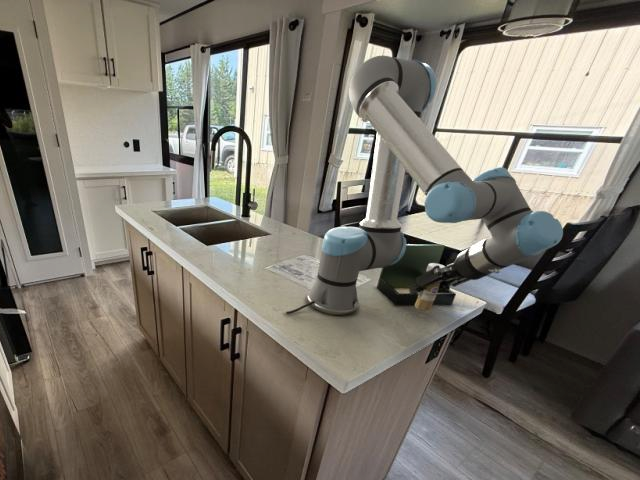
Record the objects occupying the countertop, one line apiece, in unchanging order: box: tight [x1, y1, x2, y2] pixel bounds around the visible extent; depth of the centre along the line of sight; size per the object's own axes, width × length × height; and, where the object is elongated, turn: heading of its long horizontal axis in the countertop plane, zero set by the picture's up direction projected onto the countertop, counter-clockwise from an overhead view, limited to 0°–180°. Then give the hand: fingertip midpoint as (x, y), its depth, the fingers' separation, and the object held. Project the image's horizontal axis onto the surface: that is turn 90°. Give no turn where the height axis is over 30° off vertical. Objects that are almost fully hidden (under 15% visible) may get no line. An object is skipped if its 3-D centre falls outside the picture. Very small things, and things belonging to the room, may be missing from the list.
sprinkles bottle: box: [414, 263, 446, 312], centre depth 93 cm, size 5×5×14 cm
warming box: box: [376, 243, 457, 307], centre depth 106 cm, size 20×13×16 cm, turn 96°
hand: (418, 290), depth 98 cm, fingers closed on sprinkles bottle, 4 cm apart
